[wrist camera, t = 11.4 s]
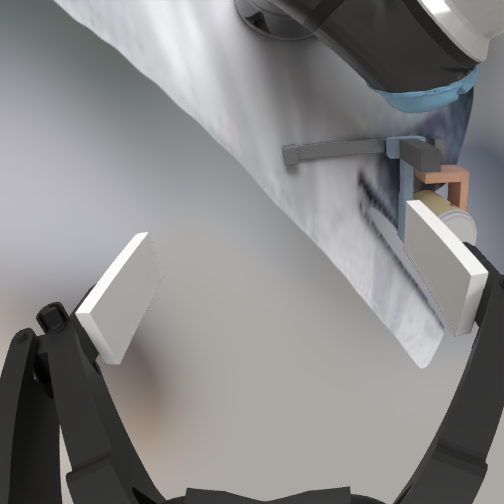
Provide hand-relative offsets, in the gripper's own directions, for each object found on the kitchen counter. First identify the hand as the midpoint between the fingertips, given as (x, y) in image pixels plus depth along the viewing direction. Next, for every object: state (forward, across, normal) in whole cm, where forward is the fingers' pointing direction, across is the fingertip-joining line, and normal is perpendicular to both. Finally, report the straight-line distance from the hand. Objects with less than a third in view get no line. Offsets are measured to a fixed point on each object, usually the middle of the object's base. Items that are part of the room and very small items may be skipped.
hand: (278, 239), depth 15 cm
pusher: (+34, +19, -10) cm, 41 cm away
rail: (+35, +14, -3) cm, 37 cm away
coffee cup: (+35, +24, -15) cm, 45 cm away
